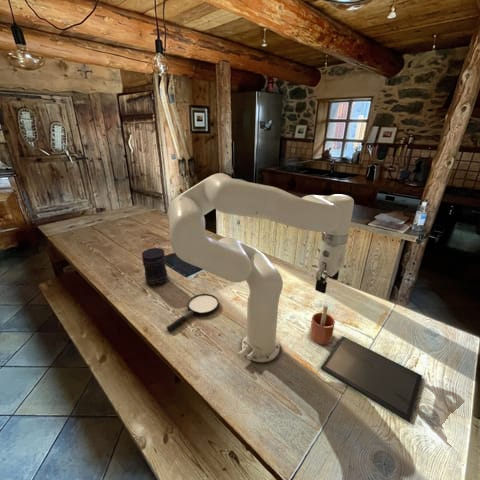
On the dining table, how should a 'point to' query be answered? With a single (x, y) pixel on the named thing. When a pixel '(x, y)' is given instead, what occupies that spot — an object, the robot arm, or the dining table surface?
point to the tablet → (374, 376)
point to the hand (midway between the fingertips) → (326, 284)
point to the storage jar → (154, 267)
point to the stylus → (324, 315)
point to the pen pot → (321, 329)
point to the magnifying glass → (197, 308)
